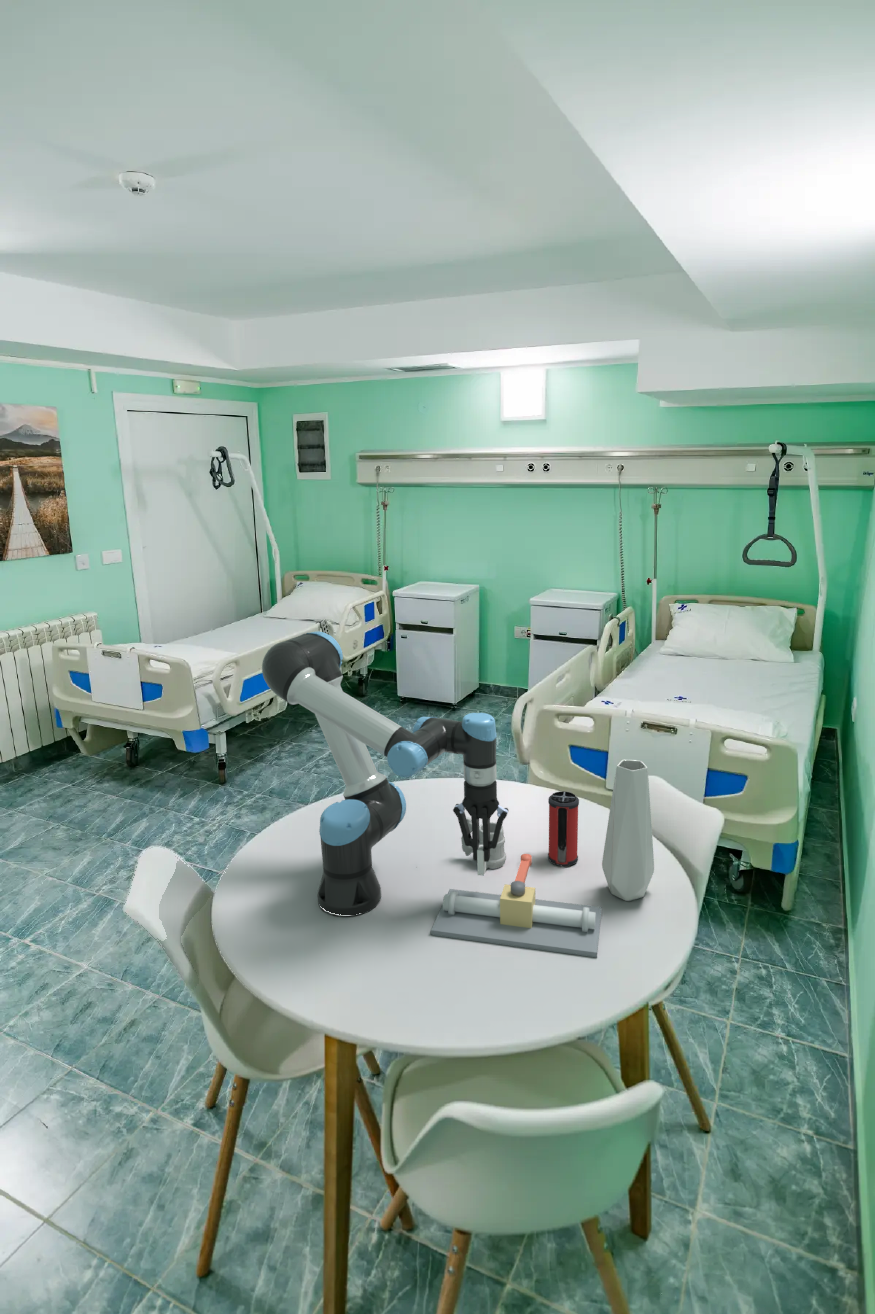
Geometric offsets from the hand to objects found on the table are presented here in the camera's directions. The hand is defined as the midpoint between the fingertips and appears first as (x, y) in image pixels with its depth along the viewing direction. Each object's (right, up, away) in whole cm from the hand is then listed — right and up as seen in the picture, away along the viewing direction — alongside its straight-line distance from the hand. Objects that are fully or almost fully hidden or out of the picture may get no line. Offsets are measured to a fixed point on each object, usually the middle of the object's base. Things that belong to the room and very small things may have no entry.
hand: (481, 872), depth 179 cm
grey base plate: (+8, -9, -8) cm, 15 cm away
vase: (+35, -6, +3) cm, 35 cm away
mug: (+2, -3, +18) cm, 19 cm away
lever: (+9, 0, -4) cm, 10 cm away
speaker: (+22, -2, +18) cm, 29 cm away
